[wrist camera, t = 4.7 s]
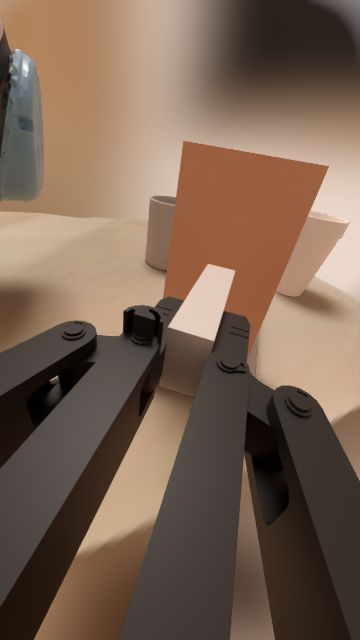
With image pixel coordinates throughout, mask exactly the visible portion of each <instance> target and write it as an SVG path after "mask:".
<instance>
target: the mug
mask: <svg viewBox="0 0 360 640" xmlns="http://www.w3.org/2000/svg"><path fill="white" fill-rule="evenodd" d="M175 203H176V197H169V196H152V197H151V198H150V206H149V220H148V233H147V246H146V256H145V259H146V262H147V264H149V265H150V266H152V267H154V268H156V269H159V270H164V271H167V265H168V257H169V249H170V242H171V234H172V226H173V219H174V211H175Z"/></svg>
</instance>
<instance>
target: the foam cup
mask: <svg viewBox="0 0 360 640" xmlns="http://www.w3.org/2000/svg"><path fill="white" fill-rule="evenodd" d="M349 223H350V222H349V221H347V220H344V219H342V218H338V217H336V216H332V215H328V214H325V213H320V212H316V211H311V210H310V212H309V214H308V217H307V219H306V222H305V224H304V226H303V229H302V231H301V233H300V236H299V238H298V240H297V243H296V245H295V247H294V250H293V252H292V254H291V257H290V259H289V261H288V264H287V266H286V269H285V271H284V273H283V276H282V278H281V280H280V283H279V285H278V287H277V290H276V292H277V293H280V294H283V295H286V296H292V297H296V296H300V295H301V294H302V292H303V291H304V290H305V288H306V287H307V286H308V284H309V283H310V281H311V280H312V278H313V277H314V275H315V274H316V272H317V271H318V269H319V268H320V266H321V265H322V264H323V262H324V261H325V259H326V258H327V256H328V255H329V253H330V252H331V250H332V249H333V247H334V246H335V244H336V243H337V241H338V240H339V239H340V238H342V236H343V234H344V232H345V230H346V229H347V227H348V225H349Z"/></svg>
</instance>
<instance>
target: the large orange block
mask: <svg viewBox="0 0 360 640" xmlns="http://www.w3.org/2000/svg"><path fill="white" fill-rule="evenodd" d="M327 170H328V166H323V165H318V164H312V163H306V162H301V161H295V160H289V159H283V158H278V157H272V156H266V155H261V154H255V153H249V152H243V151H238V150H232V149H226V148H221V147H215V146H209V145H204V144H198V143H192V142H186V141H183V149H182V157H181V165H180V172H179V180H178V188H177V196H176V203H175V211H174V219H173V226H172V234H171V242H170V249H169V257H168V265H167V273H166V280H165V288H164V296H163V299H164V298H166V297H168V296H170V297H173V298H177V299H180V300H184V301H185V299H186V298H187V296H188V294H189V293H190V291H191V290H192V288H193V287H194V285H195V283H196V282H197V280H198V279H199V277H200V276H201V274H202V273H203V271H204V269H205V268H206V266H207V265H208V264H211V265H215V266H219V267H223V268H227V269H231V270H235V274H234V277H233V281H232V284H231V288H230V291H229V295H228V298H227V301H226V305H225V308H224V311H227V312H230V313H234V314H237V315H241V316H245V317H246V318H247V319H248V321H249V323H250V332H249V344H248V355H247V358H248V356H249V353H250V351H251V348H252V346H253V344H254V341H255V339H256V337H257V334H258V332H259V330H260V327H261V325H262V323H263V320H264V318H265V316H266V313H267V311H268V309H269V306H270V304H271V301H272V299H273V297H274V294H275V292H276V290H277V287H278V285H279V283H280V280H281V278H282V276H283V273H284V271H285V269H286V266H287V264H288V261H289V259H290V257H291V254H292V252H293V250H294V247H295V245H296V243H297V240H298V238H299V236H300V233H301V231H302V229H303V226H304V224H305V222H306V219H307V217H308V214H309V212H310V210H311V207H312V205H313V203H314V200H315V198H316V196H317V193H318V191H319V189H320V186H321V184H322V181H323V179H324V177H325V174H326V172H327Z"/></svg>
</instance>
